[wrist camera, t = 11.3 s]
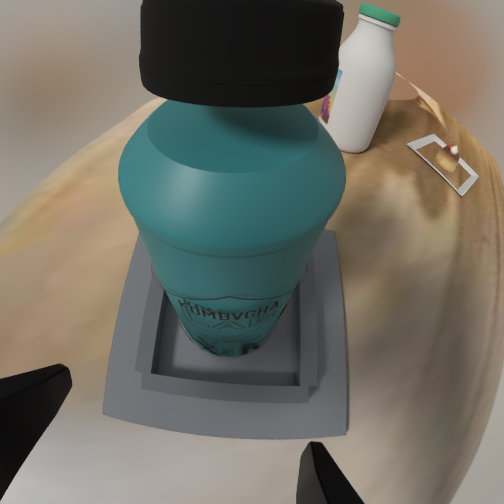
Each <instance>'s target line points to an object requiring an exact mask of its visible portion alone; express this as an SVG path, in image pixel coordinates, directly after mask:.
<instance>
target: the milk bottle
mask: <svg viewBox="0 0 504 504" xmlns="http://www.w3.org/2000/svg"><path fill="white" fill-rule="evenodd" d="M359 12H360V14H359V16H358V17H359V23H358V25H357V27H356V29H355V30H354V32H353V33H352V34H351V35H350V37H349V38H348V39H347V40H346V41H345V42H344V43H343V44H342V46H341V47H340V48H339V68H338V73H337V77H336V81H335V85H334V88H333V90H332V91H331V92H330V93H329V94H328V95H326V96H325V97H324V101H323V105H322V109H321V113H320V117H319V121H320V123H321V124H322V125H323V126H324V127H325V129H326V130H327V131H328V132H329V134H330V135H331V137H332V138H333V140H334V141H335V143H336V145H337V146H338V148H339V150H341V151H344V152H348V153H360V152H363V151H364V150H366V149H367V148H368V146H369V144H370V142H371V140H372V137H373V135H374V133H375V130H376V128H377V125H378V123H379V120H380V118H381V115H382V113H383V110H384V108H385V105H386V102H387V100H388V97H389V94H390V91H391V88H392V85H393V82H394V78H395V71H396V64H395V57H394V50H393V35H394V32H395V31H397V26H399V23H400V17H399V16H398V15H396V14H394V13H392V12H389V11H387V10H384V9H381V8H379V7H376V6H373V5H370V4H366V3H362V4H361V6H360V11H359Z"/></svg>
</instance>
